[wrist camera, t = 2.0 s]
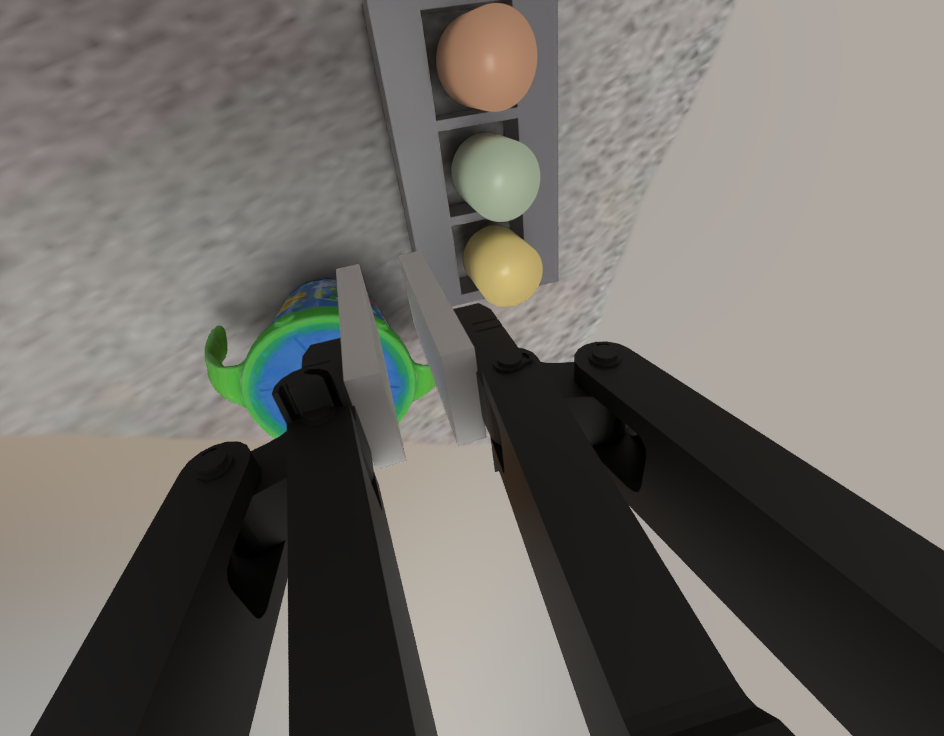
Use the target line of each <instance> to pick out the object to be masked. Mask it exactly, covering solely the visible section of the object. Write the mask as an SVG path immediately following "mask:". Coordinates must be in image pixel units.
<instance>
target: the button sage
mask: <svg viewBox="0 0 944 736" xmlns="http://www.w3.org/2000/svg"><path fill="white" fill-rule="evenodd" d="M451 175H452V182H453V185H454V187H455V189H456V191H457V193H458V194H459V195H460V197H461V198H462V199H463V200H465V201H466V202H467V203H468V204H469V205H470V206H471V207H472V208H474V209H475V210H476V211H477V212H478V213H479V214H480V215H481V216H483V217H484V218H486V219H488V220H491V221H496V222H505V221H510V220H513V219H515V218H517V217H519V216H520V215H522V214H523V213H524V212H525V211H526V210H527V209H528V208H529V207H530V206H531V204H532V203H533V201H534V200H535V198H536V196H537V193H538V190H539V186H540V168H539V164H538V161H537V159H536V157H535V155H534V154H533V152H532V151H531V150H530V149H529V148H528V147H527V146H526V145H524V144H523V143H521V142H518V141H516V140H513V139H510V138H507V137H504V136H501V135H498V134H495V133H491V132H481V133H477V134H474V135H472V136H470V137H469V138H467V139H466V140H465V141H464V142H463V143H462V144H461V145H460V146H459V148H458V149H457V151H456V153H455V155H454V158H453V161H452V167H451Z"/></svg>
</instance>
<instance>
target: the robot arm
mask: <svg viewBox="0 0 944 736" xmlns="http://www.w3.org/2000/svg"><path fill="white" fill-rule="evenodd" d="M398 256H399V260H400V264H401V269H402V273H403V278H404V282H405V287H406V291H407V296H408V300H409V305H410V309H411V313H412V318H413V322H414V326H415V329H416V332H417V335H418V337H419V340H420V343H421V346H422V348H423V351H424V354H425V357H426V359H427V362H428V365H429V368H430V370H431V373H432V376H433V379H434V381H435V384H436V387H437V389H438V392H439V395H440V398H441V400H442V403H443V406H444V409H445V411H446V414H447V417H448V420H449V422H450V425H451V428H452V431H453V433H454V436H455V439H456V442H457V444H458V446H459V445H462V444H466V443H469V442H473V441H476V440H479V439H483V438H486V437H487V436H486V429H485V425H486V427H487V429H488V432H489V434H490V437H491V444H492V452H493V460H494V467H495V472H497V471H499V472H500V475H501V477H502V480H503V483H504V486H505V489H506V492H507V495H508V498H509V501H510V504H511V506H512V509H513V512H514V515H515V518H516V521H517V524H518V527H519V530H520V533H521V535H522V538H523V541H524V544H525V547H526V550H527V553H528V556H529V559H530V562H531V564H532V567H533V570H534V573H535V576H536V579H537V582H538V585H539V588H540V591H541V594H542V596H543V599H544V602H545V605H546V608H547V611H548V614H549V617H550V619H551V622H552V625H553V628H554V631H555V634H556V637H557V640H558V643H559V646H560V648H561V651H562V654H563V657H564V660H565V663H566V666H567V669H568V672H569V675H570V677H571V681H572V683H573V686H574V689H575V692H576V695H577V697H578V701H579V704H580V707H581V710H582V712H583V715H584V718H585V721H586V724H587V727H588V730H589V733H590V736H795V735H794V734H793V733H792V732H791V731H790V730H789V729H788V728H787V727H786V726H785V725H784V724H783V723H782V722H781V721H780V720H779V719H777V718H776V717H774V716H772V715H770V714H769V713H767V712H765V711H763V710H762V709H760V708H758V707H757V706H756V705H755V704H754V703H753V702H752V701H751V700H750V699H749V698H748V697H747V696H746V695H745V693H744V692H743V690H742V689H741V687H740V686H739V685H738V683H737V681H736V680H735V678H734V676H733V675H732V673H731V672H730V670H729V669H728V667H727V665H726V663H725V662H724V660H723V659H722V657H721V655H720V654H719V652H718V650H717V649H716V647H715V646H714V644H713V642H712V641H711V639H710V637H709V636H708V634H707V632H706V631H705V629H704V628H703V626H702V624H701V623H700V621H699V619H698V618H697V616H696V615H695V613H694V611H693V610H692V608H691V606H690V605H689V603H688V602H687V600H686V598H685V597H684V595H683V594H682V592H681V590H680V588H679V587H678V585H677V584H676V582H675V580H674V579H673V577H672V576H671V574H670V572H669V571H668V569H667V567H666V566H665V564H664V562H663V561H662V560H661V558H660V556H659V554H658V553H657V551H656V550H655V548H654V546H653V544H652V543H651V541H650V540H649V538H648V536H647V535H646V533H645V531H644V530H643V528H642V527H641V525H640V523H639V522H638V520H637V518H636V517H635V515H634V514H633V512H632V510H631V509H630V507H631V508H632V509H633V510H634V511H635V512H636V513H637V514H638V515H639V516H640V517H641V518H642V519H643V520H644V521H645V522H646V523H647V524H648V525H649V527H650V528H651V529H652V530H653V531H655V533H656V534H657V535H658V536H659V537H660V538H661V539H662V540H663V541H664V542H665V543H666V544H667V545H668V546H669V547H670V548H671V549H672V550H673V551H674V552H675V553H676V554H677V555H678V556H679V557H680V558H681V559H682V560H683V562H684V563H685V564H686V565H687V566H688V567H689V568H690V569H691V570H692V571H693V572H694V573H695V574H696V575H697V576H698V577H699V578H700V579H701V580H702V581H703V582H704V583H705V584H706V585H707V586H708V587H709V588H710V589H711V590H712V591H713V592H714V593H715V594H716V596H717V597H718V598H720V600H721V601H722V602H723V603H724V604H725V605H726V606H727V607H728V608H729V609H730V610H731V611H732V612H733V613H734V614H735V615H736V616H737V617H738V618H739V619H740V620H741V621H742V622H743V623H744V624H745V625H746V626H747V627H748V628H749V629H750V631H751V632H753V634H754V635H755V636H756V637H757V638H758V639H759V640H760V641H761V642H762V643H763V644H764V645H765V646H766V647H767V648H768V649H769V650H770V651H771V652H772V653H773V654H774V655H775V656H776V657H777V658H778V659H779V660H780V661H781V662H782V663H783V664H784V666H786V668H787V669H788V670H789V671H790V672H791V673H792V674H793V675H794V676H795V677H796V678H797V679H798V680H799V681H800V682H801V683H802V684H803V685H804V686H805V687H806V688H807V689H808V690H809V691H810V692H811V693H812V694H813V695H814V696H815V697H816V699H818V701H820V703H821V704H823V706H824V707H825V708H826V709H827V710H828V711H829V712H830V713H831V714H832V715H833V716H834V717H835V718H836V719H837V720H838V721H839V722H840V723H841V724H842V725H843V726H844V727H845V728H846V729H847V730H848V731H849V732H850V734H851V735H853V736H944V551H943V550H942V549H941V548H939V547H937V546H936V545H934V544H932V543H931V542H929V541H928V540H926V539H925V538H923V537H922V536H920V535H919V534H917V533H916V532H914V531H912V530H911V529H909V528H908V527H906V526H905V525H903V524H901V523H900V522H898V521H897V520H895V519H894V518H892V517H891V516H889V515H888V514H886V513H884V512H883V511H881V510H880V509H878V508H877V507H875V506H873V505H872V504H870V503H869V502H867V501H866V500H864V499H863V498H861V497H859V496H858V495H856V494H855V493H853V492H852V491H850V490H849V489H847V488H845V487H844V486H842V485H841V484H839V483H838V482H836V481H835V480H833V479H831V478H830V477H828V476H827V475H825V474H823V473H822V472H821V471H819V470H818V469H816V468H814V467H813V466H811V465H810V464H808V463H807V462H805V461H803V460H802V459H800V458H799V457H797V456H796V455H794V454H792V453H791V452H789V451H788V450H786V449H785V448H783V447H782V446H780V445H779V444H777V443H775V442H774V441H772V440H771V439H769V438H768V437H766V436H765V435H763V434H761V433H760V432H758V431H757V430H755V429H754V428H752V427H751V426H749V425H747V424H746V423H744V422H743V421H741V420H740V419H738V418H736V417H735V416H733V415H732V414H730V413H729V412H727V411H725V410H724V409H722V408H721V407H719V406H717V405H716V404H715V403H713V402H711V401H710V400H709V399H707V398H705V397H704V396H702V395H701V394H699V393H698V392H696V391H694V390H693V389H691V388H690V387H688V386H687V385H685V384H684V383H682V382H680V381H679V380H677V379H676V378H674V377H673V376H671V375H669V374H668V373H666V372H665V371H663V370H661V369H660V368H659V367H657V366H656V365H654V364H652V363H651V362H649V361H648V360H646V359H645V358H643V357H641V356H640V355H638V354H637V353H635V352H634V351H632V350H631V349H629V348H627V347H625V346H623V345H620V344H617V343H612V342H594V343H590V344H586V345H584V346H582V347H581V348H579V349H578V350H577V352H576V353H575V355H574V362H566V363H544V362H540V360H539V359H538V357H537V356H536V355H535V354H534V353H533V352H531V351H528V350H526V349H523V348H518V347H517V345H516V344H515V342H514V341H513V340H512V338H511V337H510V335H509V334H508V333H507V331H506V330H505V328H504V327H502V324H501V323H500V321H499V320H498V319H497V317H496V316H495V314H494V313H493V312H492V310H491V309H489V308H487V307H485V306H483V305H481V304H479V303H477V304H473V305H469V306H465V307H460V308H456V309H453V308H452V307H451V305H450V303H449V301H448V299H447V298H446V296H445V294H444V292H443V290H442V289H441V287H440V285H439V283H438V281H437V280H436V278H435V276H434V274H433V272H432V270H431V269H430V267H429V265H428V263H427V261H426V260H425V258H424V256H423V254H422V252H421V251H417V252H412V253H407V254H403V255H398ZM336 277H337V291H338V306H339V321H340V335H341V338H337V339H333V340H329V341H324V342H320V343H316V344H312V345H310V346H309V348H308V349H307V350H306V352H305V353H304V355H303V356H302V368H301V369H299V370H296V371H293V372H291V373H290V374H288V375H287V376H285V377H283V378H282V379H281V380H280V381H279V382H278V383H277V384H276V385H275V386H274V389H273V391H272V396H273V398H274V400H275V402H276V404H277V406H278V408H279V410H280V412H281V414H282V416H283V418H284V420H285V422H286V424H287V431H286V432H284V433H283V434H282V435H281V436H279V437H278V438H276V439H274V440H272V441H271V442H269V443H267V444H265V445H263V446H261V447H259V448H257V449H254V450H253V451H250V449H249V448H248V446H247V445H246V444H243V443H241V442H224V443H221V444H217V445H214V446H212V447H210V448H208V449H206V450H204V451H202V452H200V453H199V454H198V455H196V456H195V457H194V458H192V460H190V461H189V462H188V463H187V464H186V466H185V467H184V468H183V469H182V471H181V472H180V474H179V475H178V477H177V479H176V481H175V483H174V484H173V486H172V488H171V489H170V491H169V493H168V495H167V497H166V498H165V500H164V502H163V504H162V505H161V507H160V509H159V511H158V512H157V514H156V516H155V518H154V519H153V521H152V523H151V525H150V526H149V528H148V530H147V532H146V534H145V535H144V537H143V539H142V541H141V542H140V544H139V546H138V547H137V549H136V551H135V553H134V554H133V556H132V558H131V560H130V561H129V563H128V565H127V567H126V569H125V570H124V572H123V574H122V575H121V577H120V579H119V581H118V582H117V584H116V586H115V588H114V589H113V592H112V593H111V595H110V597H109V598H108V600H107V602H106V604H105V605H104V607H103V609H102V611H101V612H100V614H99V616H98V618H97V620H96V621H95V623H94V625H93V627H92V628H91V630H90V632H89V633H88V635H87V637H86V639H85V640H84V642H83V644H82V646H81V648H80V649H79V651H78V653H77V654H76V656H75V658H74V660H73V661H72V663H71V665H70V667H69V669H68V670H67V672H66V674H65V676H64V677H63V679H62V681H61V683H60V684H59V686H58V688H57V690H56V691H55V693H54V695H53V697H52V698H51V700H50V702H49V704H48V705H47V707H46V709H45V711H44V712H43V714H42V716H41V718H40V719H39V721H38V723H37V725H36V726H35V728H34V730H33V732H32V733H31V735H30V736H249V733H250V729H251V725H252V721H253V717H254V713H255V709H256V705H257V700H258V697H259V692H260V688H261V684H262V680H263V676H264V672H265V668H266V664H267V660H268V656H269V652H270V647H271V644H272V640H273V635H274V631H275V627H276V623H277V619H278V615H279V611H280V607H281V603H282V598H283V595H284V590H285V586H286V583H287V579H288V650H289V651H288V655H289V656H288V659H289V736H438V735H437V731H436V727H435V722H434V718H433V714H432V710H431V705H430V701H429V697H428V693H427V688H426V684H425V680H424V676H423V672H422V667H421V663H420V659H419V654H418V650H417V646H416V641H415V637H414V633H413V629H412V624H411V620H410V616H409V612H408V608H407V603H406V599H405V595H404V591H403V586H402V582H401V578H400V573H399V569H398V565H397V561H396V556H395V552H394V548H393V544H392V539H391V535H390V531H389V526H388V522H387V518H386V514H385V509H384V506H383V501H382V497H381V492H380V488H379V484H378V482H377V479H376V476H375V473H374V470H373V463H374V466H375V469H380V468H383V467H387V466H390V465H393V464H397V463H400V462H404V461H406V457H405V453H404V448H403V443H402V439H401V434H400V429H399V425H398V420H397V416H396V411H395V406H394V402H393V397H392V392H391V388H390V383H389V379H388V374H387V369H386V365H385V360H384V355H383V351H382V346H381V342H380V337H379V333H378V329H377V326H376V322H375V319H374V315H373V312H372V308H371V305H370V301H369V297H368V294H367V290H366V287H365V283H364V280H363V276H362V273H361V269H360V266H359V264H356V265H352V266H347V267H342V268H338V269H336ZM372 461H373V462H372ZM629 506H630V507H629Z"/></svg>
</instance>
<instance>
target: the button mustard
mask: <svg viewBox="0 0 944 736" xmlns="http://www.w3.org/2000/svg"><path fill="white" fill-rule="evenodd" d="M463 264H464V268H465V270H466V272H467V274H468V275H469V277H470V278H471V280H472V281H473V282H474V284H475V285H476V286H477V288H478V289H479V291H480V292H481V293H482V295H483V296H484V298H485V299H486V300H487V301H489V302H490V303H492V304H493V305H496V306H500V307H511V306H515V305H518V304H520V303H522V302H524V301H526V300H527V299H528V298H529V297H530V296H531V295H532V294H533V293H534V292H535V291H536V289H537V288H538V286H539V284H540V281H541V278H542V273H543V267H542V261H541V258H540V256H539V254H538V253H537V252H536V250H535V249H534V248H532V247H531V246H530V245H529V244H528V243H526V242H525V241H524V240H523V239H521V238H520V237H519V236H518V235H517V234H515V233H514V232H513V231H512V230H510V229H509V228H507V227H504V226H500V225H492V226H487V227H484V228H482V229H480V230H479V231H477V232H476V233H475V234H474V235H473V236H472V237H471V238H470V239H469V241H468V242H467V244H466V247H465V249H464V254H463Z"/></svg>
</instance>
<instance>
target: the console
mask: <svg viewBox="0 0 944 736" xmlns="http://www.w3.org/2000/svg"><path fill="white" fill-rule="evenodd" d="M490 3H502V4H506V5H509V6H511V7H513V8H515V9H516V10H517V11H519V12H520V13H521V14H522V15H523V16H524V17H525V19H526V20H527V21H528V23H529V25H530V27H531V29H532V31H533V33H534V37H535V40H536V45H537V67H536V72H535V76H534V79H533V82H532V84H531V86H530V88H529V90H528V91H527V93H526V94H525V96H524V97H523V98H522V99H521V100H520V101H519V102H518V103H517V104H515V105H514V106H512V107H511V108H509V109H506V110H504V111H500V112H489V111H484V110H480V109H473V110H467V111H461V112H455V113H449V114H443V115H437V116H436V115H435V109H434V102H433V95H432V88H431V81H430V74H429V67H428V60H427V53H426V46H425V40H424V33H423V26H422V19H421V15H422V14H430V13H437V12H445V11H453V10H461V9H468V8H476V7H481V6H483V5H486V4H490ZM362 7H363V12H364V17H365V21H366V26H367V31H368V36H369V41H370V46H371V51H372V56H373V61H374V66H375V70H376V75H377V80H378V85H379V90H380V95H381V100H382V105H383V110H384V115H385V119H386V124H387V129H388V134H389V139H390V144H391V149H392V154H393V159H394V164H395V168H396V173H397V178H398V183H399V188H400V193H401V198H402V203H403V208H404V213H405V217H406V222H407V227H408V232H409V237H410V242H411V247H412V252H417V251H421V252H422V254H423V256H424V258H425V260H426V261H427V263H428V265H429V267H430V269H431V270H432V272H433V274H434V276H435V278H436V280H437V281H438V283H439V285H440V287H441V289H442V290H443V292H444V294H445V296H446V298H447V299H448V301H449V303H450V305H451V307H452V306H456V305H460V304H464V303H469V302H473V301H477V300H481V299H485V298H484V296H483V295H482V293H481V292H480V291H479V289H478V288H477V286H476V285H475V284H474V282H473V281H472V280H471V278H470V277H465V278H461V279H459V274H458V267H457V260H456V253H455V246H454V240H453V233H452V226H455V225H460V224H465V223H469V222H474V221H479V220H484V219H486V218H484V217H483V216H481V215H480V214H479V213H478V212H477V211H476V210H475V209H474V208H472V207H471V206H470V205H469V204H468V203H467V202H465V203H460V204H455V205H450V206H449V205H448V198H447V191H446V184H445V177H444V171H443V164H442V157H441V150H440V143H439V136H438V132H439V131H445V130H451V129H457V128H463V127H468V126H474V125H480V124H486V123H492V122H497V121H503V123H504V137H507V138H510V139H513V140H516V141H518V142H521V143H523V144H524V145H526V146H527V147H528V148H529V149H530V150H531V151H532V152H533V154H534V155H535V157H536V159H537V161H538V164H539V168H540V186H539V190H538V193H537V196H536V198H535V200H534V201H533V203H532V204H531V206H530V207H529V208H528V209H527V210H526V211H525V212H524V213H523V214H522V215H520V216H519V217H517V218H515V219H513V220H510V228H511V230H512V231H513V232H514V233H515V234H517V235H518V236H519V237H520V238H521V239H523V240H524V241H525V242H526V243H528V244H529V245H530V246H531V247H532V248H534V249H535V250H536V252H537V253H538V254H539V256H540V258H541V261H542V267H543V273H542V278H541V281H540V284H539V286H540V285H544V284H548V283H552V282H557V281H558V0H364V2H363V4H362Z"/></svg>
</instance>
